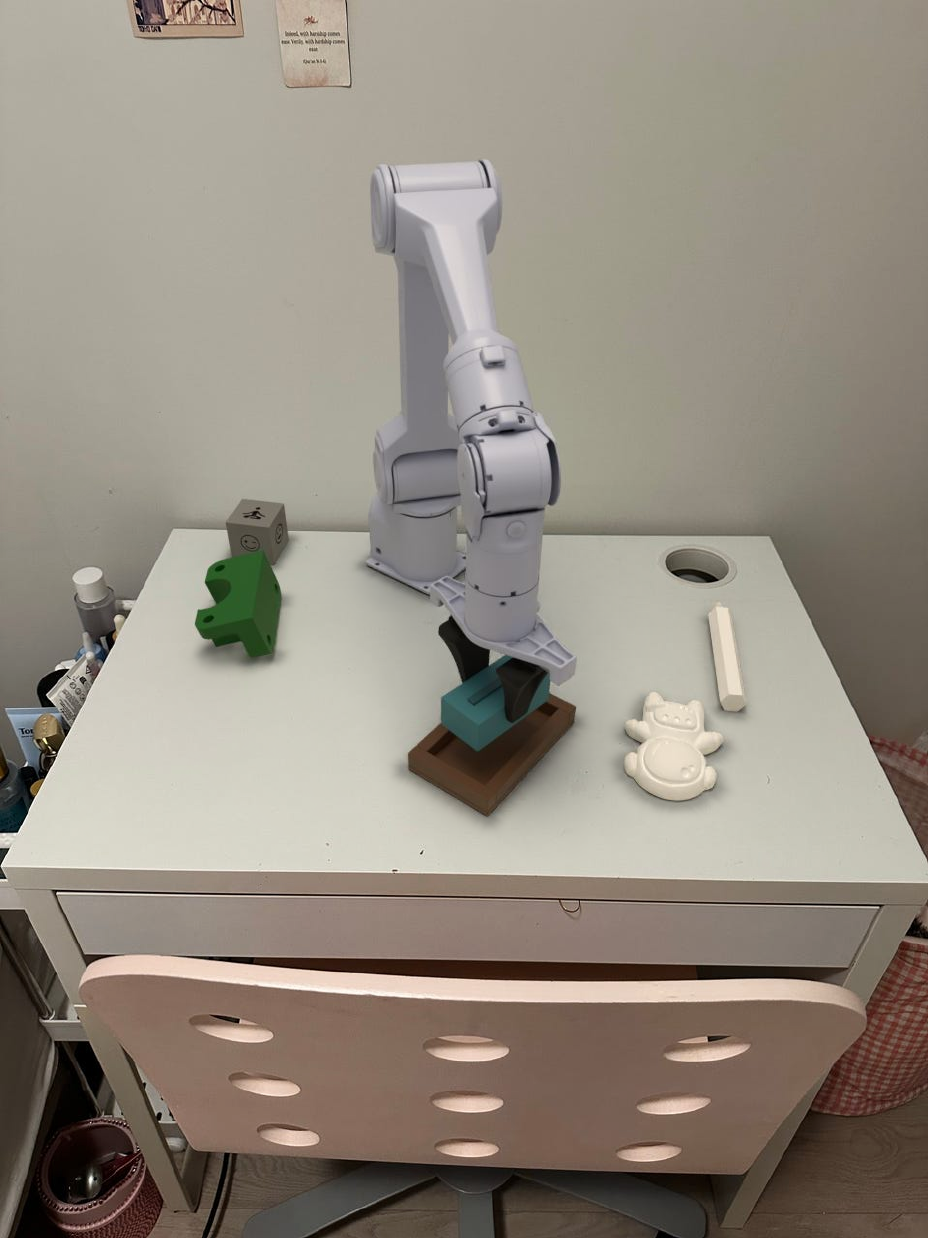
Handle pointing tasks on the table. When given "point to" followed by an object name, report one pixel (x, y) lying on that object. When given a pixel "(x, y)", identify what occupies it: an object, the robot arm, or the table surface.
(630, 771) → the cream flat figure
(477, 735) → the teal rectangular block
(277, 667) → the table surface
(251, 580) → the clamp
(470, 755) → the frame
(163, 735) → the table surface
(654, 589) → the table surface
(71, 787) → the table surface
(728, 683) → the marker
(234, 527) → the dice cube
